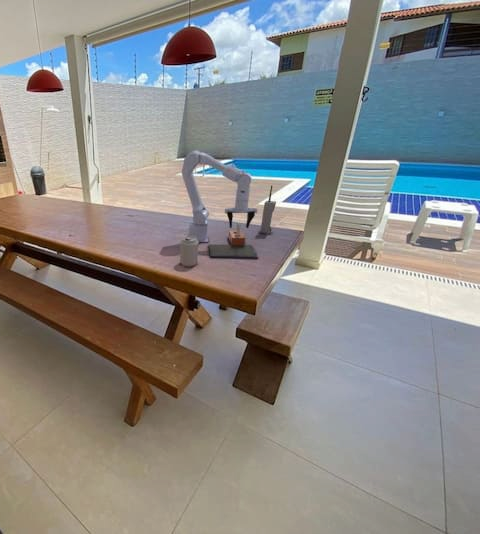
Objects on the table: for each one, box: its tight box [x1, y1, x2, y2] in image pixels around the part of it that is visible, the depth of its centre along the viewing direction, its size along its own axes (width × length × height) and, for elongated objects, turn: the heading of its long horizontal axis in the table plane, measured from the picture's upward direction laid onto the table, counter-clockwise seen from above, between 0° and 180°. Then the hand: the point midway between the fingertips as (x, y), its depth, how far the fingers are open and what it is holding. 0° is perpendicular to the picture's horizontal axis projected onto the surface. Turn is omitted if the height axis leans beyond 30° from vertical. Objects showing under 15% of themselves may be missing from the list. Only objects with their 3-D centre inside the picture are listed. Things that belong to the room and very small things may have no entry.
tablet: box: [208, 243, 259, 260], centre depth 143 cm, size 20×14×1 cm
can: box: [179, 235, 200, 267], centre depth 132 cm, size 8×8×12 cm
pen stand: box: [228, 230, 246, 245], centre depth 154 cm, size 6×11×4 cm, turn 169°
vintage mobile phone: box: [259, 184, 277, 235], centre depth 159 cm, size 4×5×25 cm
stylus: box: [236, 223, 242, 237], centre depth 151 cm, size 2×2×10 cm
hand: (238, 227), depth 150 cm, fingers open, 7 cm apart
